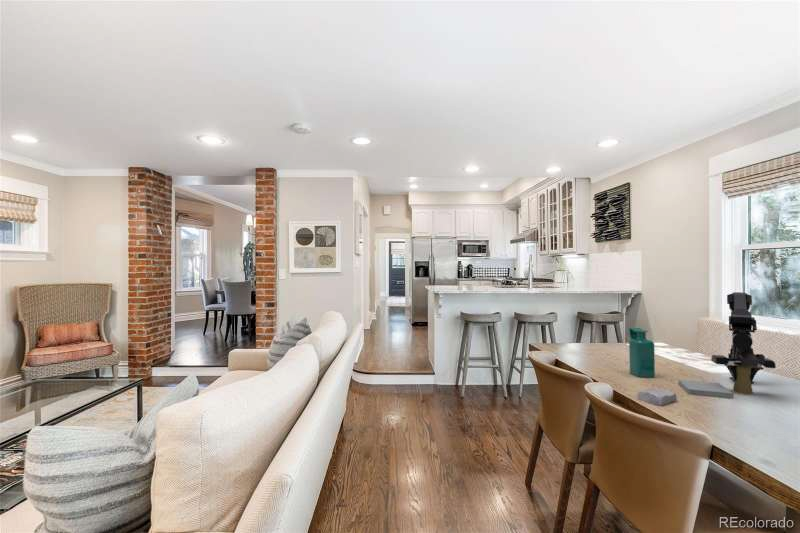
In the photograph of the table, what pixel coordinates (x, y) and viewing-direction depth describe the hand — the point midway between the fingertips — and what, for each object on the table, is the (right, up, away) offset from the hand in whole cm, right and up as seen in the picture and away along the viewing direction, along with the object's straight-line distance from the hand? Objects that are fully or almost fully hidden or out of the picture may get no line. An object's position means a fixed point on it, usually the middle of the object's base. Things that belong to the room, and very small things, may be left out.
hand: (742, 382), depth 149 cm
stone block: (-41, -5, -7) cm, 42 cm away
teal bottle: (-25, -5, +26) cm, 36 cm away
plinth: (-14, -4, +2) cm, 15 cm away
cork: (0, -4, 0) cm, 4 cm away
